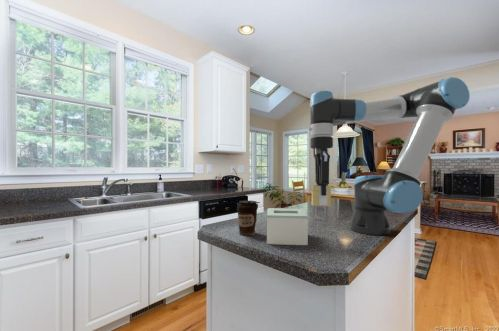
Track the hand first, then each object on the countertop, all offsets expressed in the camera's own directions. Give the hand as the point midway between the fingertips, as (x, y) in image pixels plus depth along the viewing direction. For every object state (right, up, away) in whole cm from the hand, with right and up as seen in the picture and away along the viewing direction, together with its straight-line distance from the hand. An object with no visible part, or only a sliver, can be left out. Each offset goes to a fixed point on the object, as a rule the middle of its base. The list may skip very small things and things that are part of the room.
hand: (321, 203), depth 84 cm
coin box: (-12, -14, +6) cm, 19 cm away
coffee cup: (-26, -14, +12) cm, 32 cm away
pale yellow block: (0, -1, 0) cm, 1 cm away
